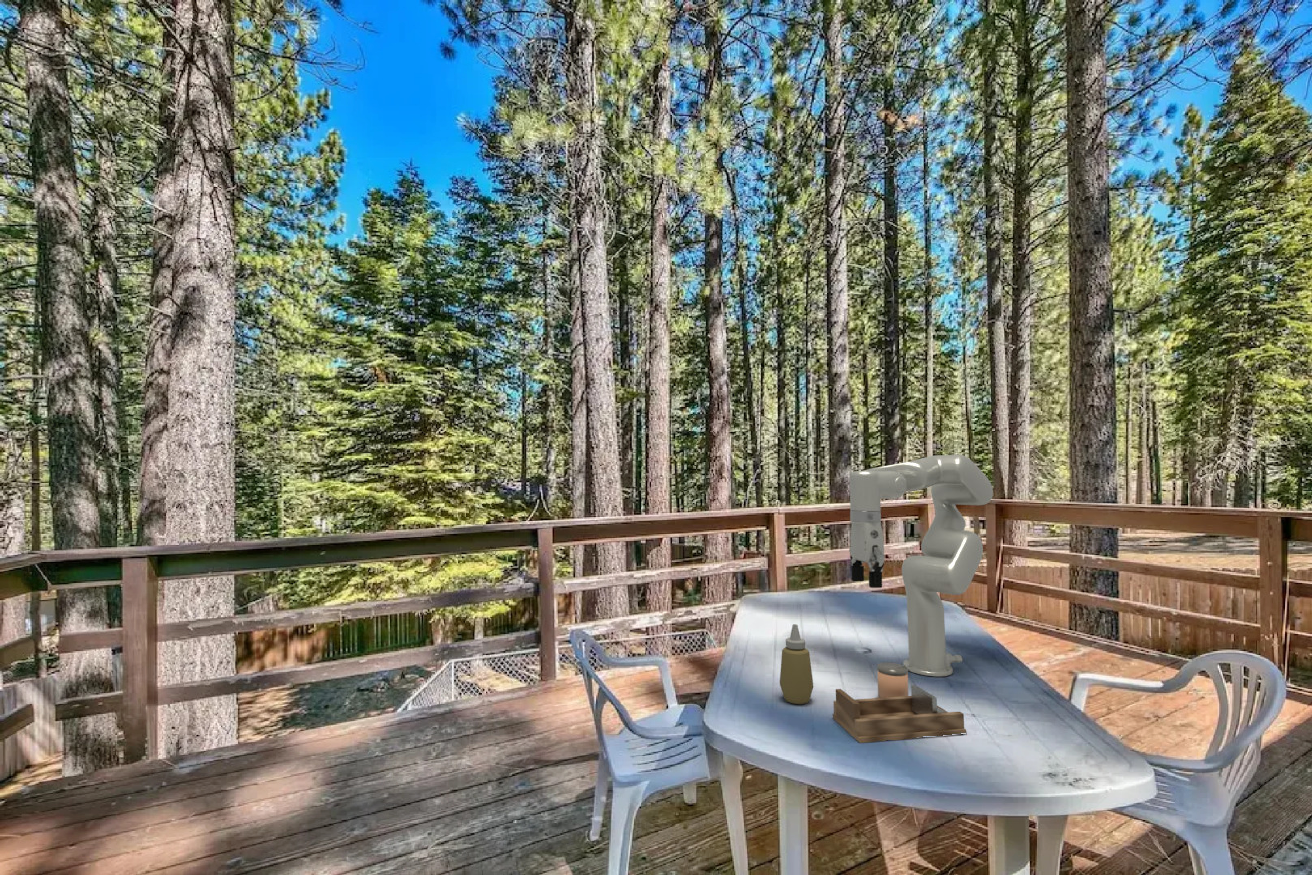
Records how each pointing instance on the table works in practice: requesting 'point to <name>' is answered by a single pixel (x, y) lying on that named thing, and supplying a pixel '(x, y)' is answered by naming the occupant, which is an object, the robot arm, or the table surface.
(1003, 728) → the table surface
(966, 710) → the table surface
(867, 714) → the wooden tray
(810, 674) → the squeeze bottle
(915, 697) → the plate
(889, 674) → the jar
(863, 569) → the robot arm
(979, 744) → the table surface
